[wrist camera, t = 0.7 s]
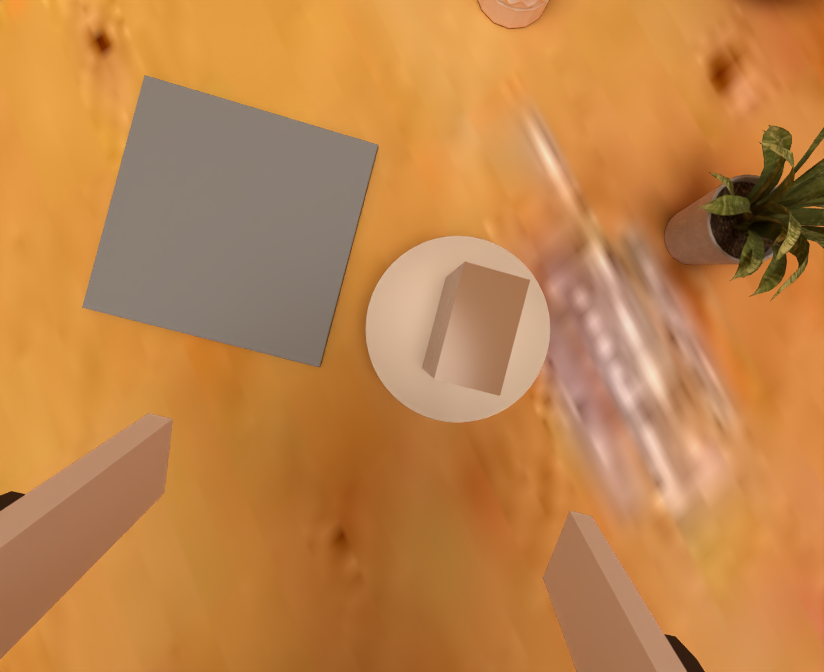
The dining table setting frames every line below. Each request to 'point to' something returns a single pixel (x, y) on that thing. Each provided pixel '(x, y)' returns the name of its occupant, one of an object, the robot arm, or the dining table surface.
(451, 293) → the lid
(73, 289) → the dining table surface
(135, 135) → the mat
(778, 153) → the house plant
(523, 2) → the white cup
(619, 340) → the dining table surface
